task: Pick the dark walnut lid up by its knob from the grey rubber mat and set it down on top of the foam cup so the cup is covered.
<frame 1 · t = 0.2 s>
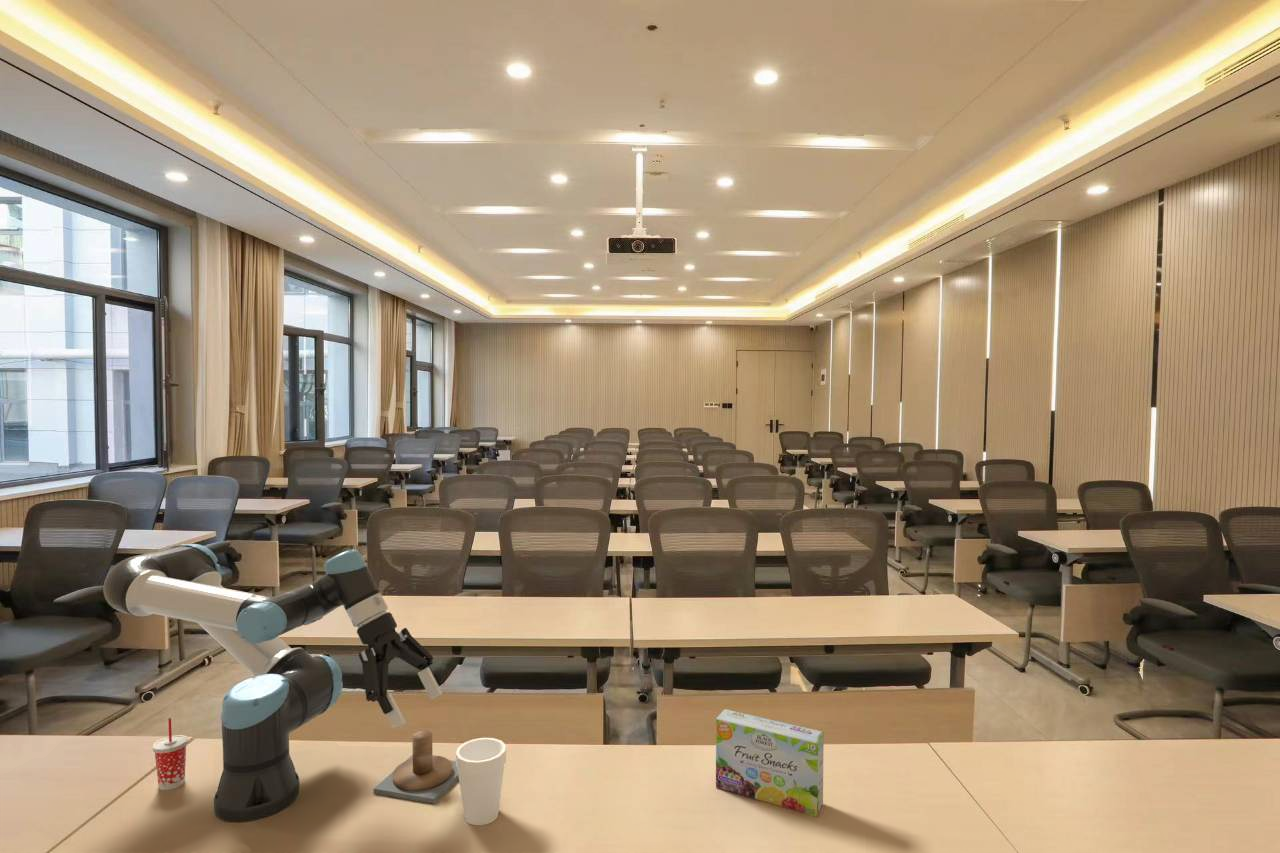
hand: (419, 710, 145), 16 cm above the table, tool tilted 30°, fingers open, 13 cm apart
snack box: (768, 797, 141), on the table
lid: (422, 775, 147), point 1 cm above the table, touching mat
foam cup: (481, 816, 135), on the table
beverage cup: (171, 785, 146), on the table
mat: (422, 780, 147), on the table
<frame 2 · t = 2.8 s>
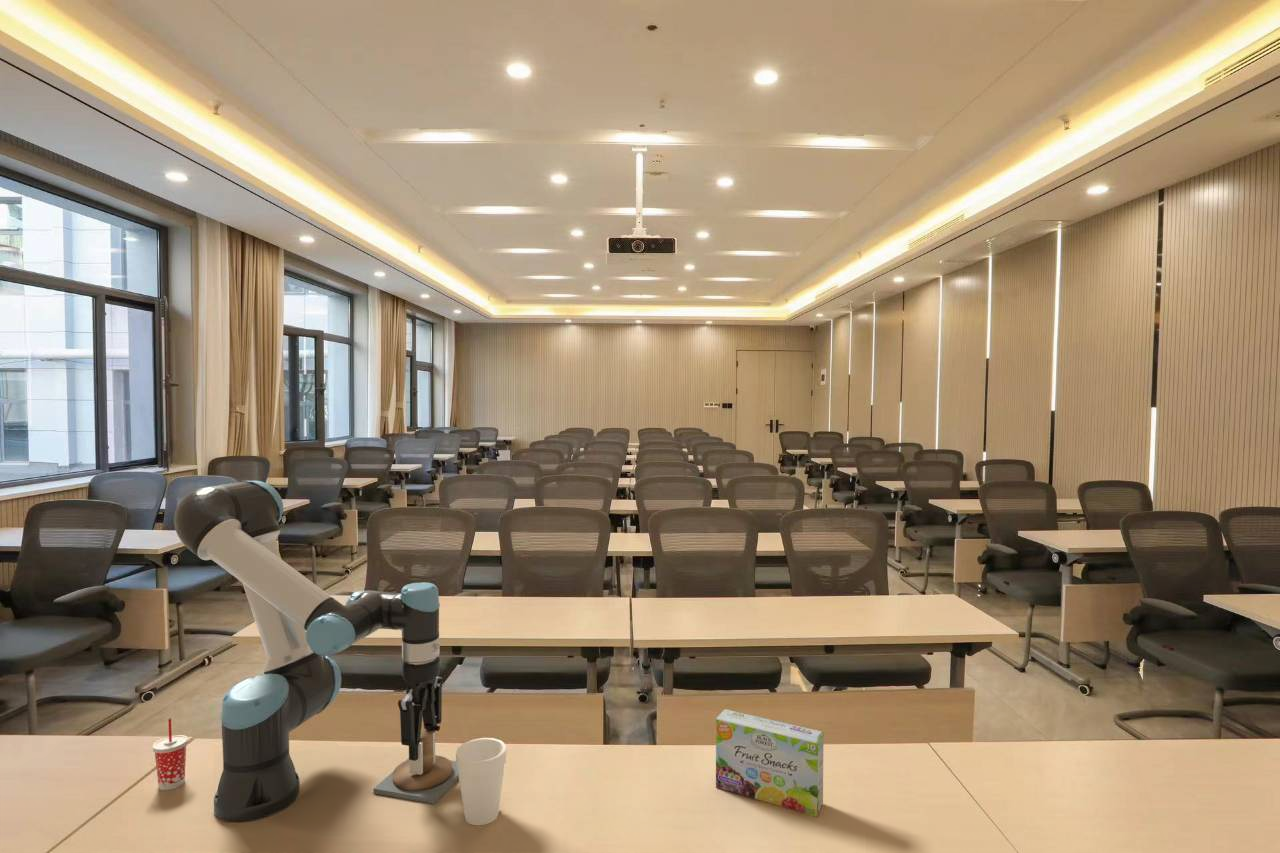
hand: (422, 767, 147), 3 cm above the table, tool pointing down, fingers closed on lid, 4 cm apart
lid: (422, 775, 147), point 1 cm above the table, touching gripper
everything else where it was.
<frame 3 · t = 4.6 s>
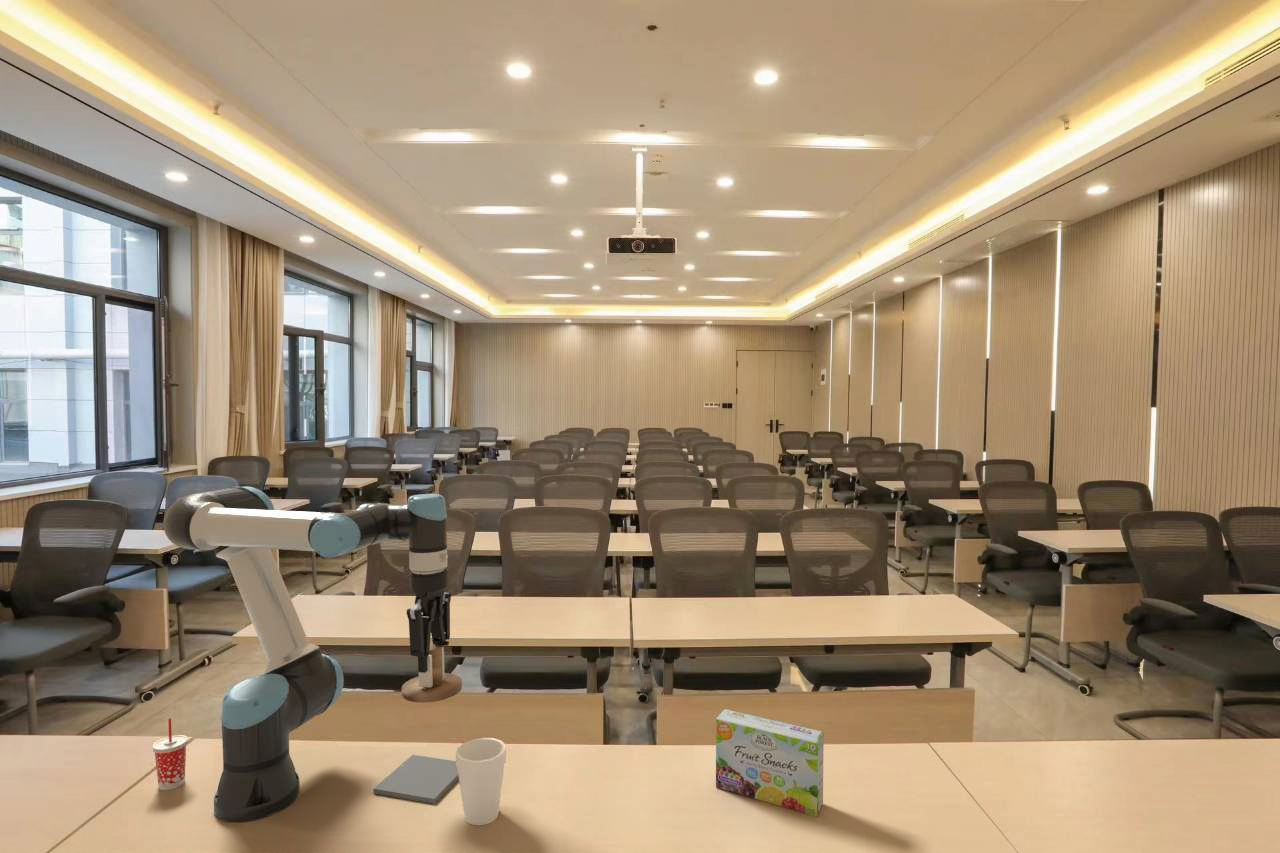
hand: (431, 681, 144), 22 cm above the table, tool pointing down, fingers closed on lid, 4 cm apart
lid: (432, 689, 144), point 20 cm above the table, touching gripper
everything else where it was.
when the fingers open (16 cm above the table, at t = 6.6 s): lid drops 2 cm, resting on foam cup.
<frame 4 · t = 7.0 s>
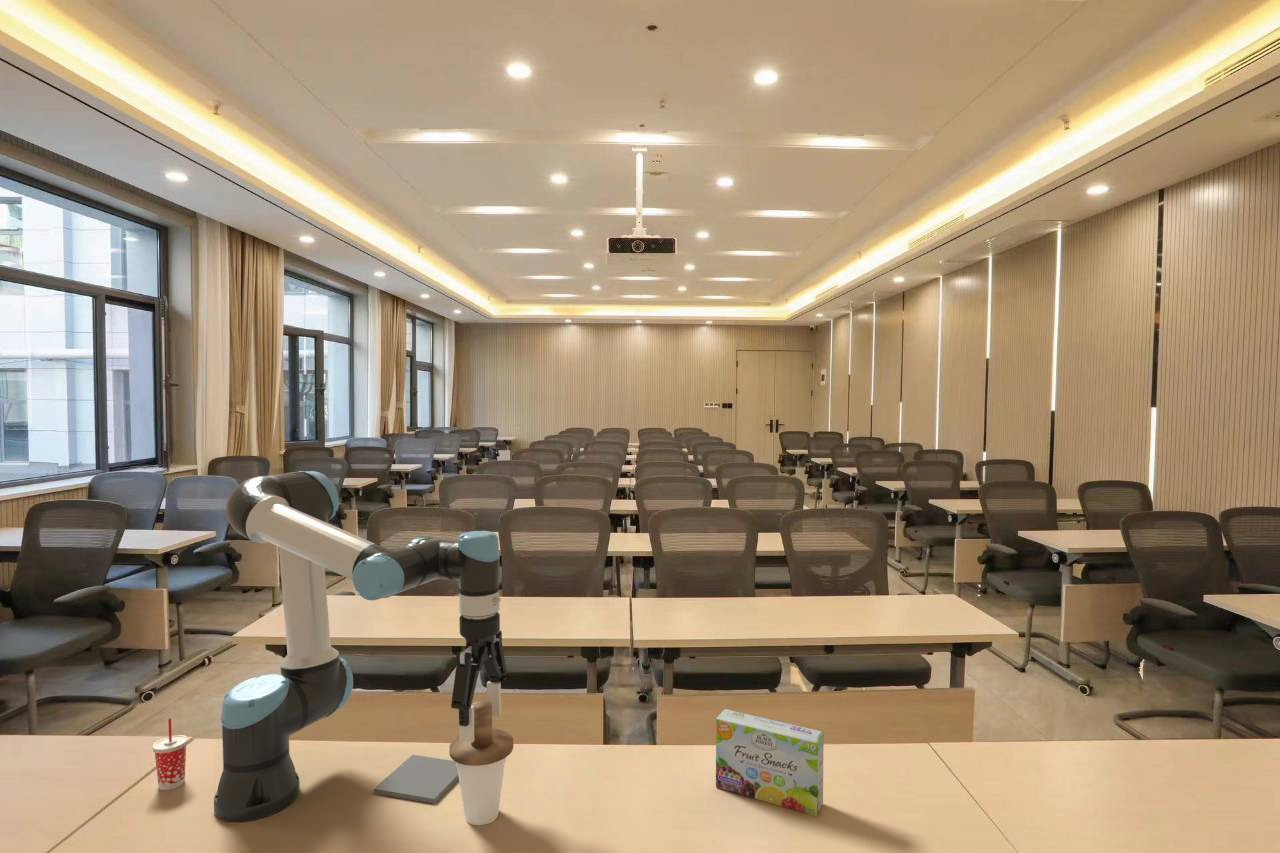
hand: (480, 727, 134), 17 cm above the table, tool pointing down, fingers open, 10 cm apart
lid: (481, 749, 134), point 13 cm above the table, touching foam cup
foam cup: (481, 816, 135), on the table, touching lid
everything else where it was.
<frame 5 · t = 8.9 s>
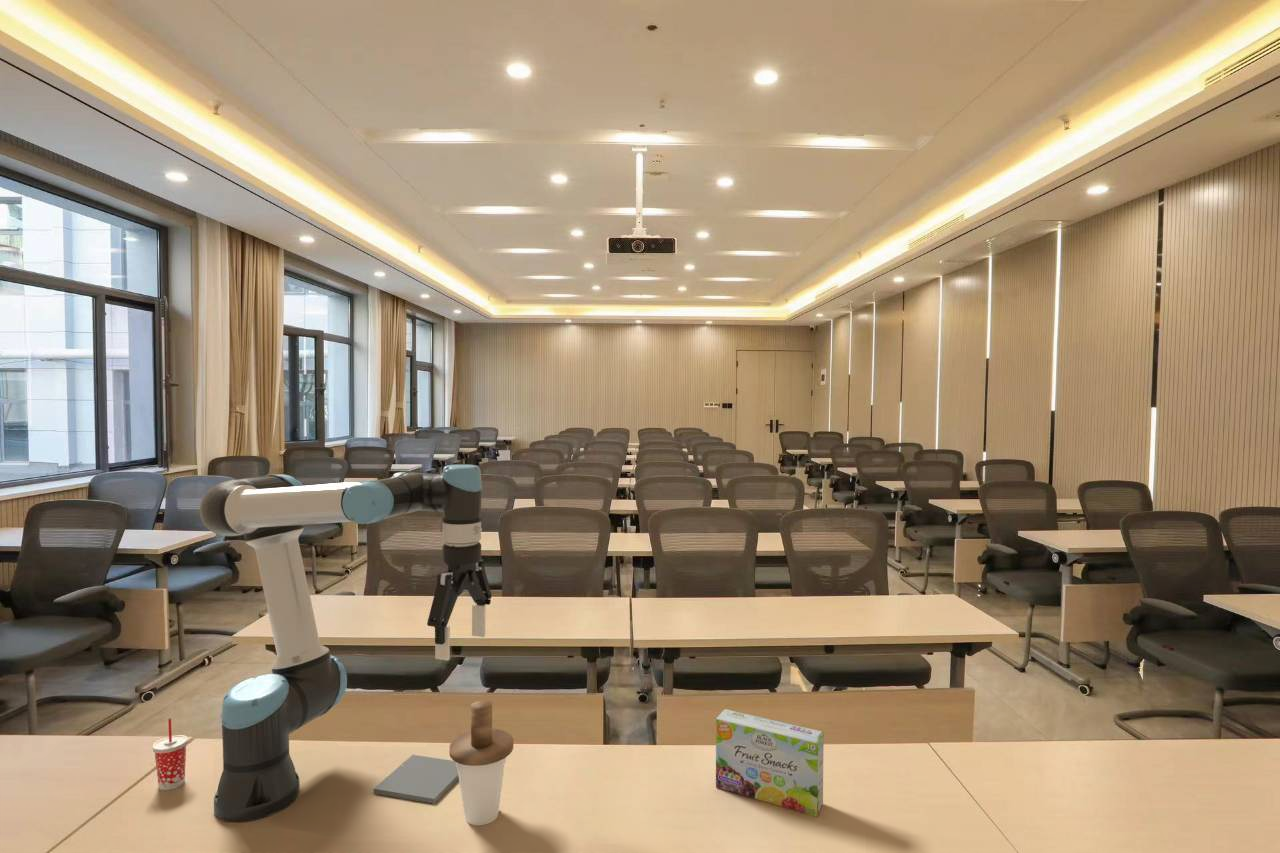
hand: (461, 647, 140), 31 cm above the table, tool pointing down, fingers open, 13 cm apart
nothing on the table moved.
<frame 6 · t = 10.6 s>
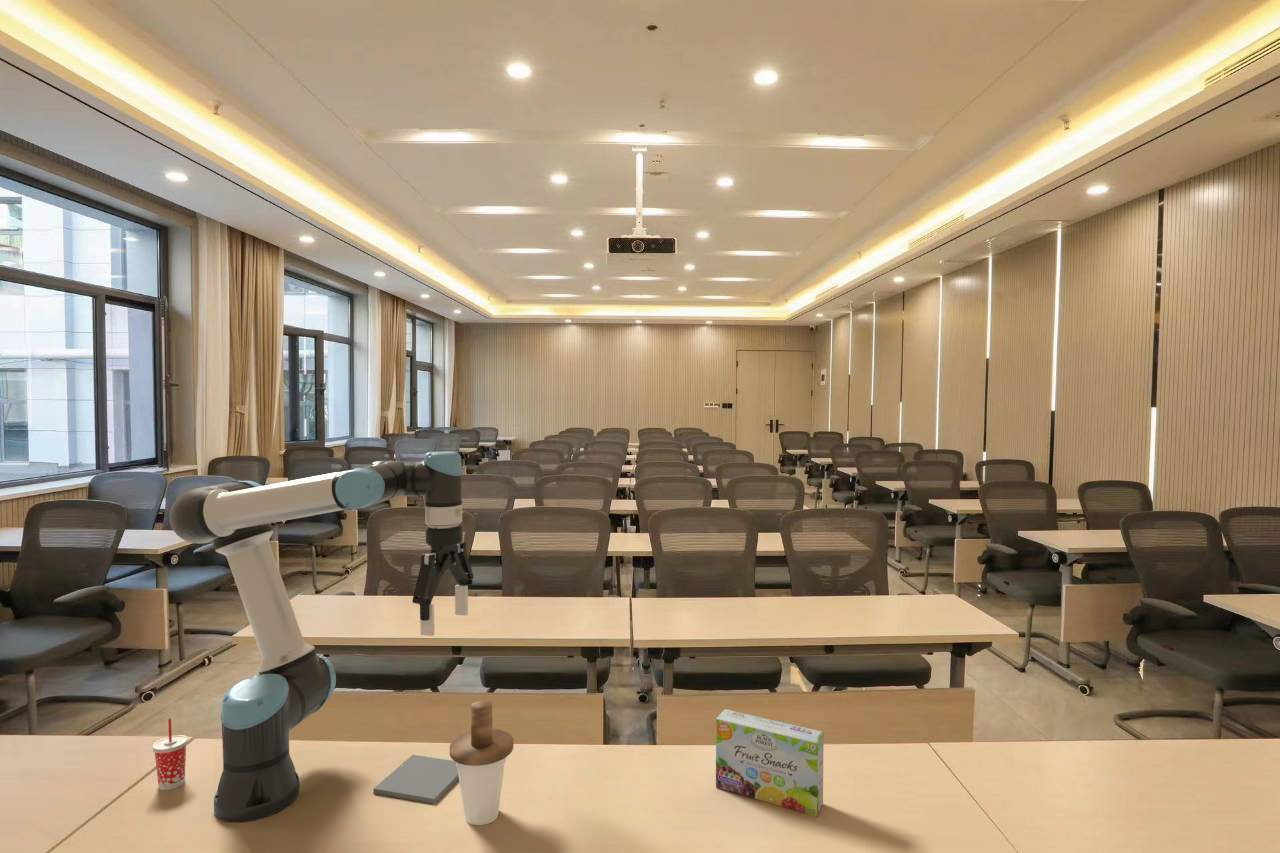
hand: (445, 624, 148), 33 cm above the table, tool pointing down, fingers open, 13 cm apart
nothing on the table moved.
at the end: lid inside the target area on the foam cup (0.1 cm from its centre), point 13.2 cm above the foam cup's base; the gripper is holding nothing; foam cup tilted 0° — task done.
